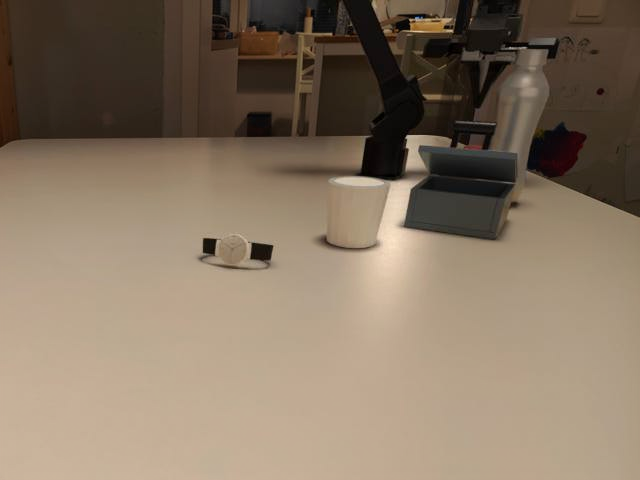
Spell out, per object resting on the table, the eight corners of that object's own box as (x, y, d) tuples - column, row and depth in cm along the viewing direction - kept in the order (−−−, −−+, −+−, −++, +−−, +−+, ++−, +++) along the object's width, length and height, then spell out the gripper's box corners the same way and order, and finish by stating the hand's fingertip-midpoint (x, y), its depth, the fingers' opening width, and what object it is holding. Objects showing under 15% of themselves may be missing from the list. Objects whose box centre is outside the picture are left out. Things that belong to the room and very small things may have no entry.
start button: (482, 160, 103) (485, 149, 102) (459, 158, 105) (462, 147, 104) (486, 156, 106) (488, 146, 105) (463, 155, 108) (466, 144, 107)
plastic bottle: (508, 197, 92) (546, 48, 83) (527, 208, 87) (571, 49, 77) (464, 196, 93) (497, 49, 84) (480, 207, 87) (517, 49, 78)
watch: (195, 263, 66) (196, 230, 64) (209, 250, 70) (210, 219, 68) (266, 272, 63) (269, 238, 62) (276, 258, 67) (279, 226, 66)
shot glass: (384, 236, 75) (394, 177, 71) (376, 252, 69) (387, 189, 66) (327, 230, 77) (334, 173, 74) (315, 245, 72) (322, 184, 68)
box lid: (515, 159, 69) (527, 118, 69) (417, 151, 74) (427, 113, 74) (515, 183, 79) (526, 147, 78) (429, 174, 84) (438, 141, 83)
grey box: (494, 239, 73) (505, 199, 71) (403, 226, 79) (410, 188, 76) (506, 220, 81) (515, 183, 79) (422, 209, 86) (429, 174, 84)
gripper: (423, -4, 91) (404, 109, 98) (569, -10, 81) (536, 116, 89) (440, -1, 99) (422, 104, 106) (575, -6, 90) (545, 109, 97)
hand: (477, 108), depth 99 cm, fingers closed
